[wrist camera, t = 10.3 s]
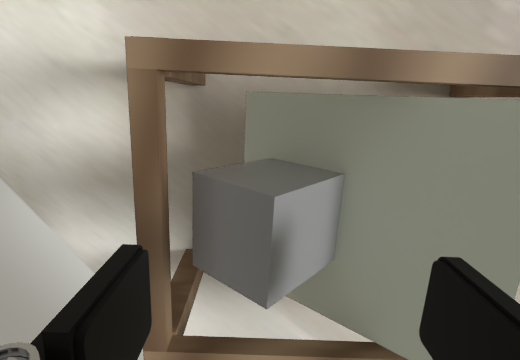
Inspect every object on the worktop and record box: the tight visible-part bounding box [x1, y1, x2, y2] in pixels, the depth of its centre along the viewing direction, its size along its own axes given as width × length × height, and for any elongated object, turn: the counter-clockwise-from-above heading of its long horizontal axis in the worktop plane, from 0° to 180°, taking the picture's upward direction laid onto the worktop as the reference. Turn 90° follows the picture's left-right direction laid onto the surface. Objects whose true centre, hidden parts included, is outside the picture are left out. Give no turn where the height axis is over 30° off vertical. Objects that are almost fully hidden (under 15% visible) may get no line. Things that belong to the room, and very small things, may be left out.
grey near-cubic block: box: [193, 158, 345, 309], centre depth 17 cm, size 5×5×6 cm
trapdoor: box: [244, 92, 520, 360], centre depth 19 cm, size 15×13×5 cm
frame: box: [125, 36, 520, 360], centre depth 20 cm, size 22×17×11 cm
